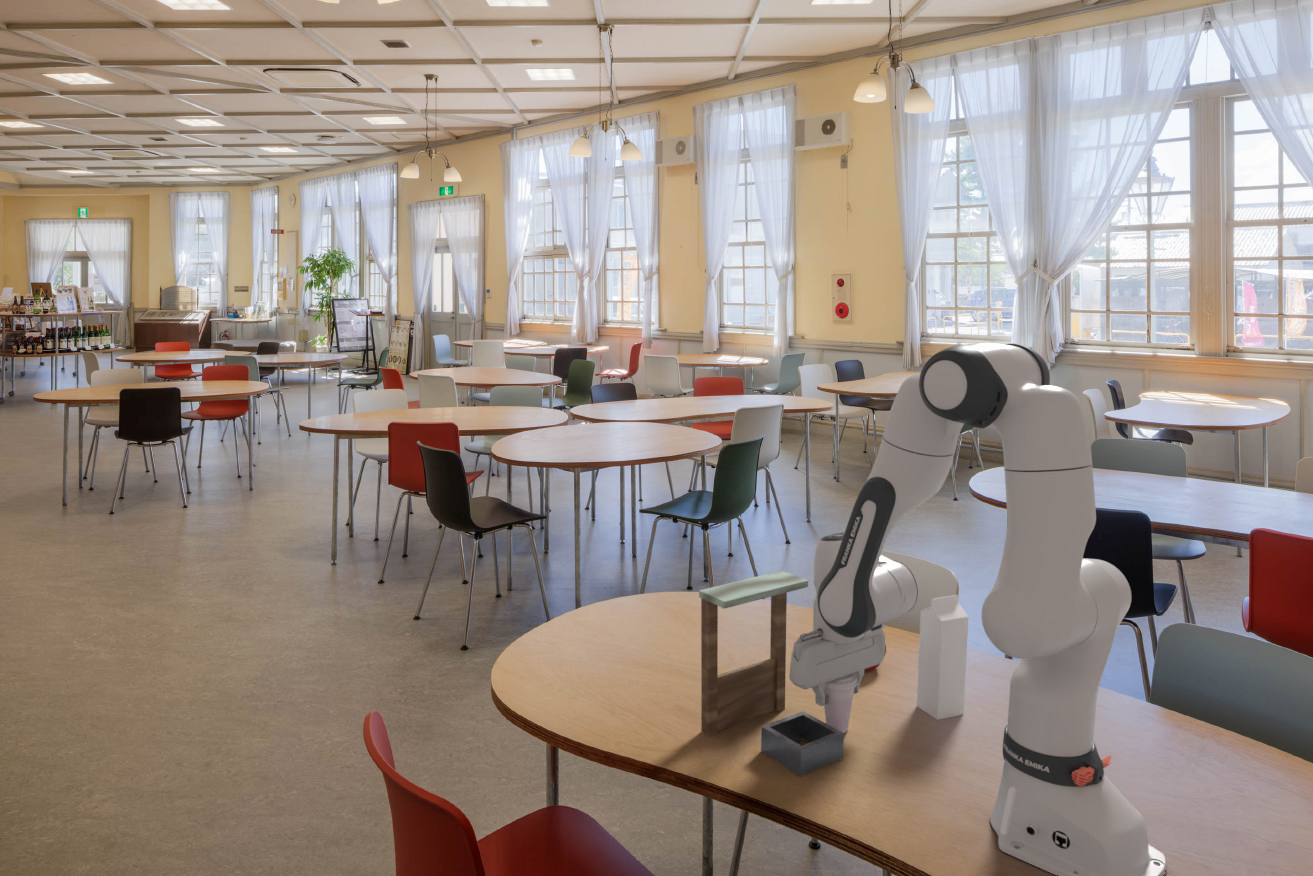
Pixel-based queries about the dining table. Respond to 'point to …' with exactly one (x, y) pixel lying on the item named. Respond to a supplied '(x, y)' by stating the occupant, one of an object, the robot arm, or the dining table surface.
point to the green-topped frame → (754, 684)
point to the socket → (805, 758)
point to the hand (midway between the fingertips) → (837, 698)
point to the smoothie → (839, 701)
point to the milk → (942, 658)
